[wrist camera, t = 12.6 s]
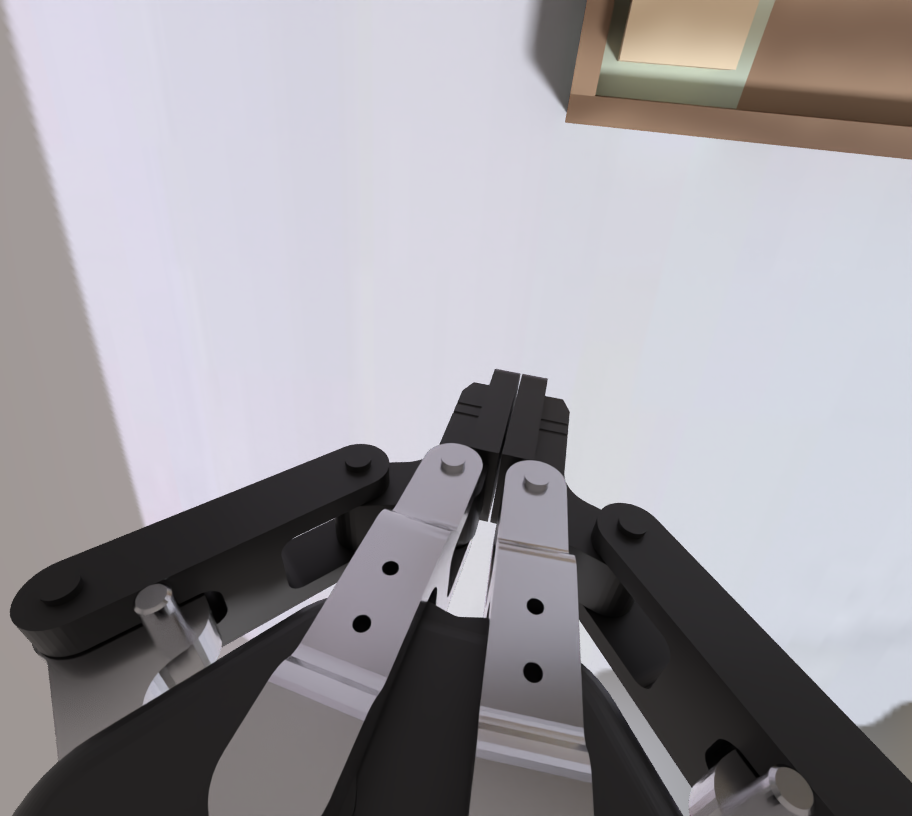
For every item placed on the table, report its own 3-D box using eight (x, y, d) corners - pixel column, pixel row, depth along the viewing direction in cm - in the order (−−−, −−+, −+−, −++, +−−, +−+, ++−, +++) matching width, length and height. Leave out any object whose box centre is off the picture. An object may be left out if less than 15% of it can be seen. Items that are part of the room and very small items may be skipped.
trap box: (614, -134, 27) (617, -169, 23) (1325, -116, 22) (1486, -157, 18) (569, 116, 34) (564, 122, 30) (1096, 171, 29) (1175, 187, 25)
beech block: (642, -52, 26) (647, -68, 23) (758, -46, 25) (781, -63, 22) (617, 61, 29) (619, 59, 26) (720, 69, 28) (735, 69, 25)
